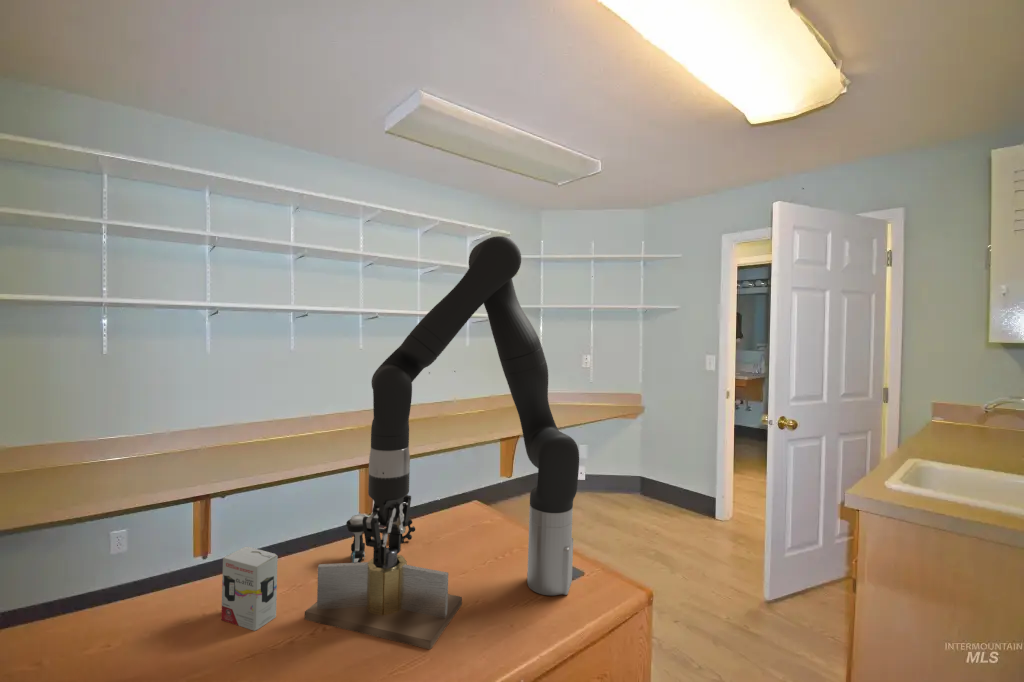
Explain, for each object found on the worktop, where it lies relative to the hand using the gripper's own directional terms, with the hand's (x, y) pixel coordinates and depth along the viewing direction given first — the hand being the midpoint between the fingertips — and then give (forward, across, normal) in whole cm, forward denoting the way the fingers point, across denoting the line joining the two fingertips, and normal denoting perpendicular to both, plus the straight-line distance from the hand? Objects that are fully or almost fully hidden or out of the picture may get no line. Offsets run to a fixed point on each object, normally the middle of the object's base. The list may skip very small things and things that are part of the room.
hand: (387, 558), depth 91 cm
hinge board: (+10, 0, 0) cm, 10 cm away
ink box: (+11, -10, +22) cm, 27 cm away
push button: (+11, +15, +16) cm, 25 cm away
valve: (+11, +31, +15) cm, 36 cm away
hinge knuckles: (+9, -1, 0) cm, 9 cm away
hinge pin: (+9, 0, 0) cm, 9 cm away
